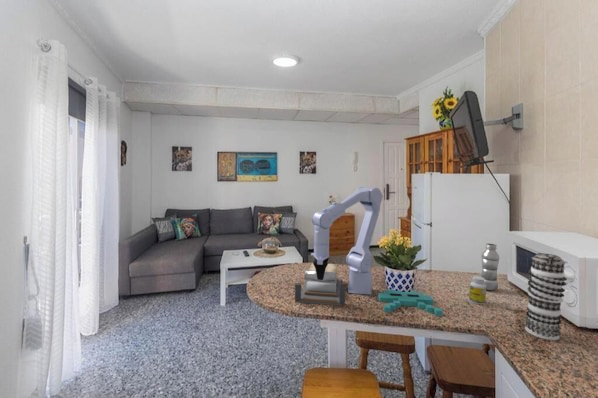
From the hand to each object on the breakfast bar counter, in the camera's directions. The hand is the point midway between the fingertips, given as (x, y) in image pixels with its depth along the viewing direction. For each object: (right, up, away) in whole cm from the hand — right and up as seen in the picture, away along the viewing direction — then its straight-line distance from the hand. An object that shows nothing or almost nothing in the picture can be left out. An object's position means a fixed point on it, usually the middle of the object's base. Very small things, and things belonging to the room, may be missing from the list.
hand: (320, 277), depth 113 cm
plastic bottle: (+75, -9, +14) cm, 76 cm away
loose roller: (0, -2, 0) cm, 2 cm away
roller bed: (+1, -8, +11) cm, 13 cm away
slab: (+2, -3, +17) cm, 17 cm away
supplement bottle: (+62, -10, +1) cm, 62 cm away
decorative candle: (+68, -12, -21) cm, 73 cm away
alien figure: (+33, -10, 0) cm, 35 cm away
